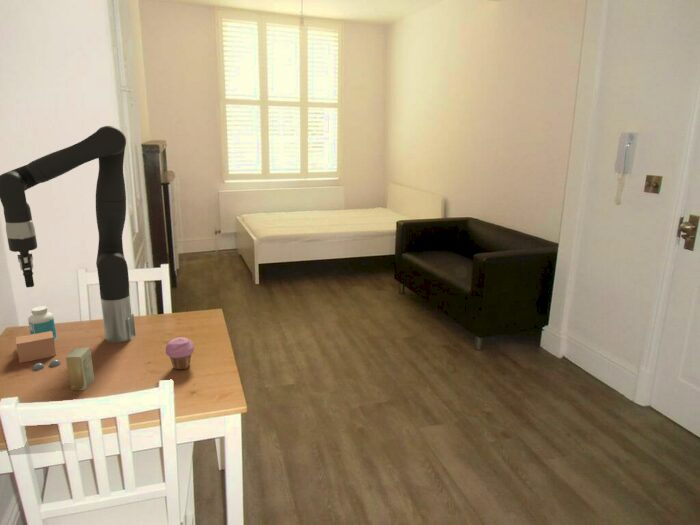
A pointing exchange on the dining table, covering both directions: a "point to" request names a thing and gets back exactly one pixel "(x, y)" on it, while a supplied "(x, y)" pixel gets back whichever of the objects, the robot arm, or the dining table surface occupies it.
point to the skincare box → (80, 368)
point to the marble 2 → (54, 363)
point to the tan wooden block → (35, 346)
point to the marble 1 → (38, 366)
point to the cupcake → (180, 352)
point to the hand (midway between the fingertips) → (29, 283)
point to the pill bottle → (41, 321)
